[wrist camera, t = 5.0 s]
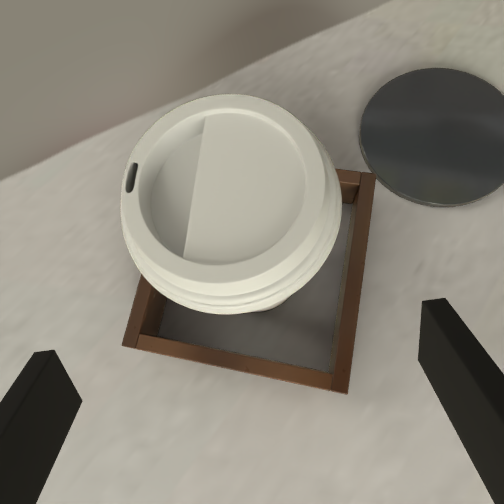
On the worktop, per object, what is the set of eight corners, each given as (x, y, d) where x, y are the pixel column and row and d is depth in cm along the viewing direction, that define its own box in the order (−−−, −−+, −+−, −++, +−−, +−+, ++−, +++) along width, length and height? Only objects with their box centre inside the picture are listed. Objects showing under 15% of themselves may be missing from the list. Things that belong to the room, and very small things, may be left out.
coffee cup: (232, 191, 31) (179, 46, 16) (342, 242, 29) (391, 127, 14) (172, 295, 29) (53, 235, 15) (284, 357, 27) (273, 358, 13)
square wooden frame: (367, 194, 30) (376, 173, 26) (340, 389, 26) (347, 394, 23) (188, 169, 32) (175, 147, 28) (141, 347, 28) (121, 345, 25)
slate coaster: (520, 80, 31) (525, 74, 30) (516, 218, 28) (521, 215, 27) (368, 66, 33) (369, 61, 32) (349, 195, 30) (350, 192, 29)
